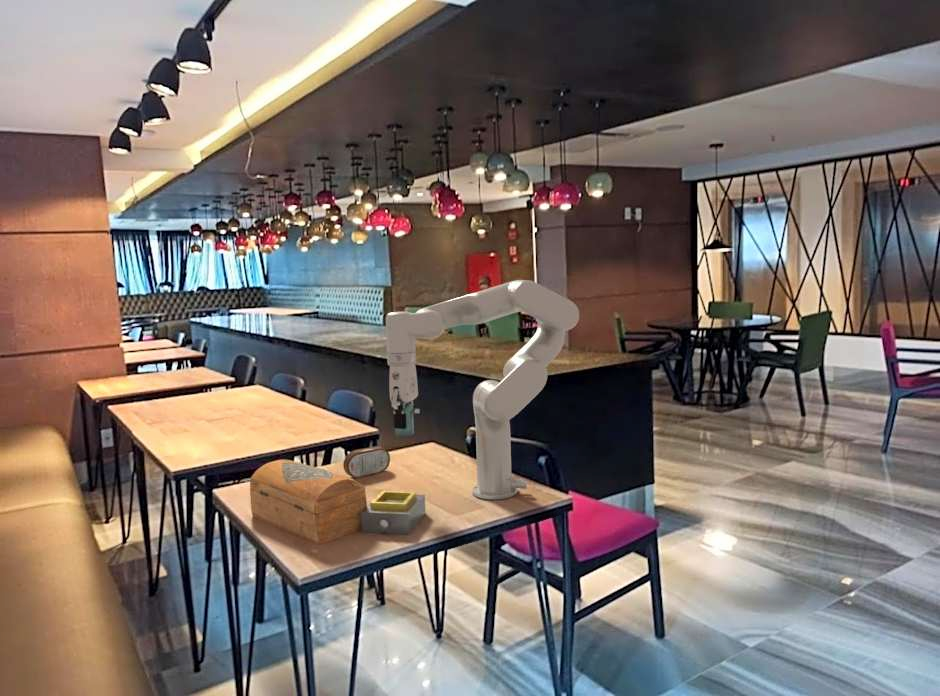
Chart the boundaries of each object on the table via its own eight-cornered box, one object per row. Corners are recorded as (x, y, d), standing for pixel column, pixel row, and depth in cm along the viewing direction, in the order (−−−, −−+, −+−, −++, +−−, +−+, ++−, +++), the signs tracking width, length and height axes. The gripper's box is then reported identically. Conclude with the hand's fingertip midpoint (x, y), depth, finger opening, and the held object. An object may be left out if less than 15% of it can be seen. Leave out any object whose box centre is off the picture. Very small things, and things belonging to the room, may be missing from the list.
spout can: (422, 431, 185) (421, 402, 184) (416, 436, 181) (415, 406, 180) (398, 430, 187) (397, 401, 186) (392, 435, 182) (391, 405, 181)
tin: (387, 469, 218) (386, 443, 217) (392, 471, 216) (390, 445, 215) (343, 478, 210) (342, 452, 209) (348, 481, 207) (346, 454, 206)
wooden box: (372, 526, 171) (369, 471, 170) (316, 547, 159) (312, 489, 158) (305, 500, 192) (302, 452, 190) (251, 517, 180) (247, 466, 178)
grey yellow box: (425, 513, 178) (424, 489, 177) (407, 537, 163) (406, 510, 162) (381, 511, 180) (380, 487, 180) (359, 534, 165) (358, 508, 165)
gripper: (404, 363, 173) (407, 434, 175) (425, 354, 189) (427, 419, 191) (376, 363, 174) (379, 433, 177) (399, 354, 191) (401, 418, 193)
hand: (404, 425), depth 184 cm, fingers closed on spout can, 5 cm apart
